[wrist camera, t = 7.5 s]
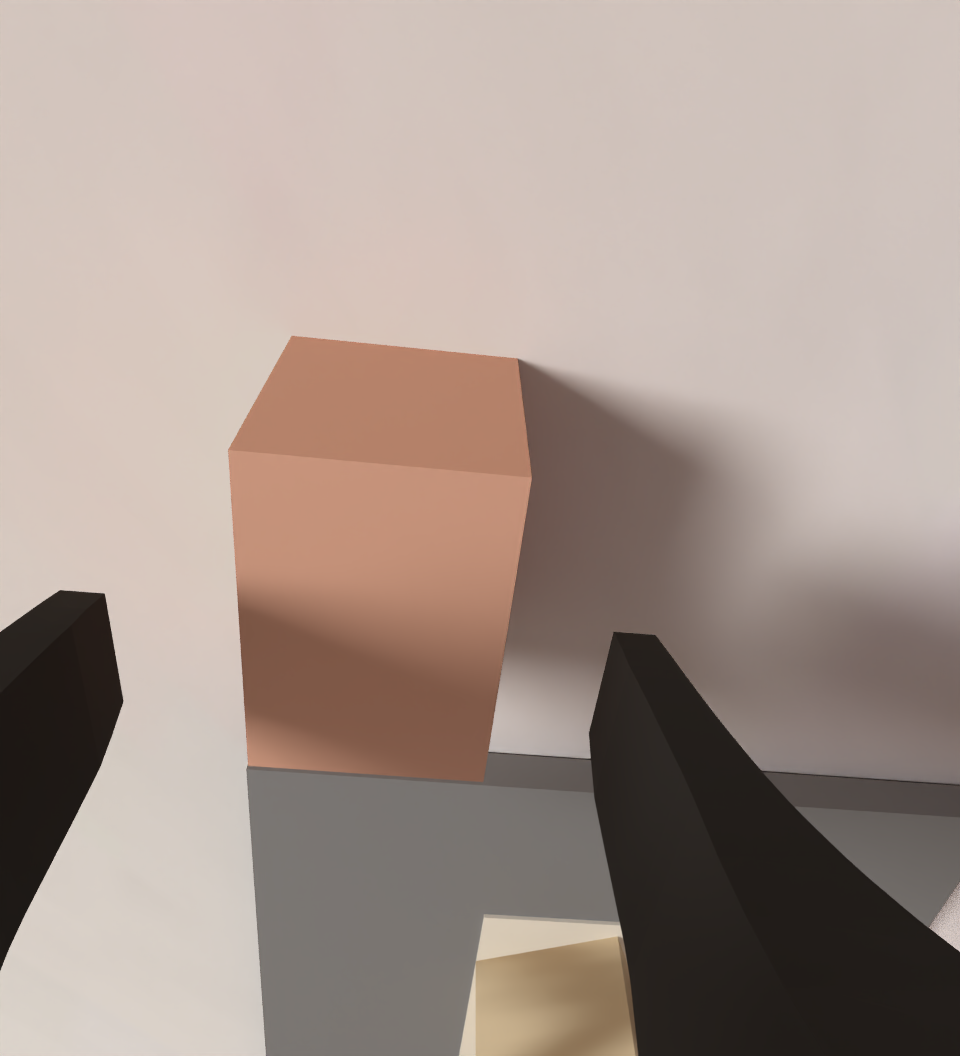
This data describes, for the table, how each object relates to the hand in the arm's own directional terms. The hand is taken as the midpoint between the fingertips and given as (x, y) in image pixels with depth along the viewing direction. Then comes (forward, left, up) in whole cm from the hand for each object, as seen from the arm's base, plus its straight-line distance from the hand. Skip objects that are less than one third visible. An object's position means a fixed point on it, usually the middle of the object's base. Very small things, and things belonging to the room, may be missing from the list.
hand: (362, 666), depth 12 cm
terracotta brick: (0, 0, -5) cm, 5 cm away
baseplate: (-6, +16, -5) cm, 18 cm away
